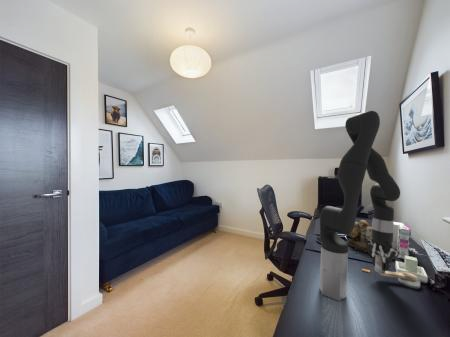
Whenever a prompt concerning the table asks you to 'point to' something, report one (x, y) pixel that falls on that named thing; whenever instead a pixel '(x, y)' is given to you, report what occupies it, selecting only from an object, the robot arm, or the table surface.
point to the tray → (420, 272)
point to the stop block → (410, 264)
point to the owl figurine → (360, 235)
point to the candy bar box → (403, 241)
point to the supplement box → (395, 234)
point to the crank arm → (388, 273)
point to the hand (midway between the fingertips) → (379, 267)
